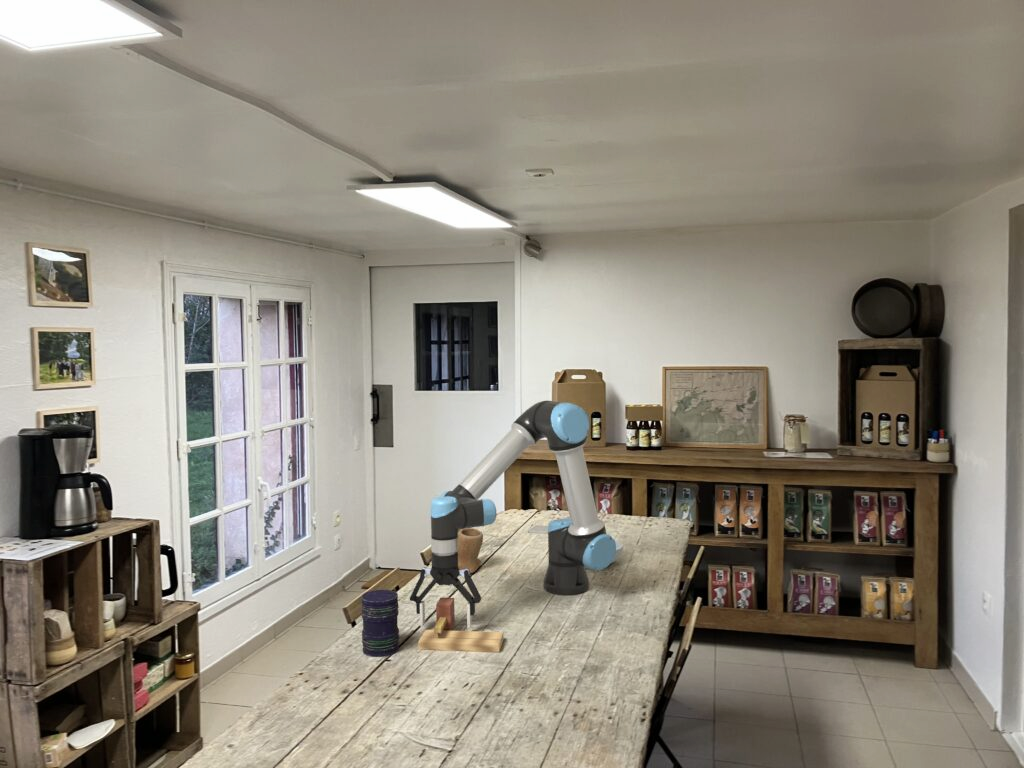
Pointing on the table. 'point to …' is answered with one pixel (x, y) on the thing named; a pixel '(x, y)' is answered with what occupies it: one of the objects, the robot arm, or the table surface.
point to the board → (461, 641)
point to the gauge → (444, 615)
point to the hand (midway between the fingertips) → (445, 625)
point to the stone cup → (469, 548)
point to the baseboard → (539, 529)
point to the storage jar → (380, 623)
